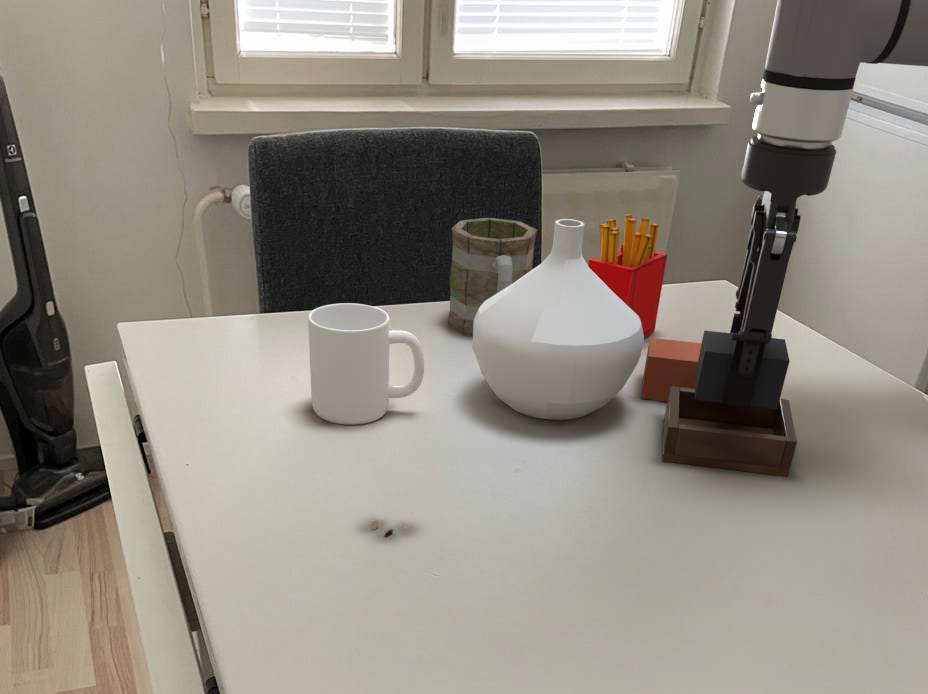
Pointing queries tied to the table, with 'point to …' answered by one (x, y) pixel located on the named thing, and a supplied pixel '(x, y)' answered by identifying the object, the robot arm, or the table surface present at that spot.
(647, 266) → the french fries container
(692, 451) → the frame
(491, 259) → the mug
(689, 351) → the reddish brown rectangular block
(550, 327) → the vase
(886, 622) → the table surface
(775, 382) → the dark gray rectangular block
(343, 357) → the cup
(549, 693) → the table surface
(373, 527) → the pale spotted flat piece
